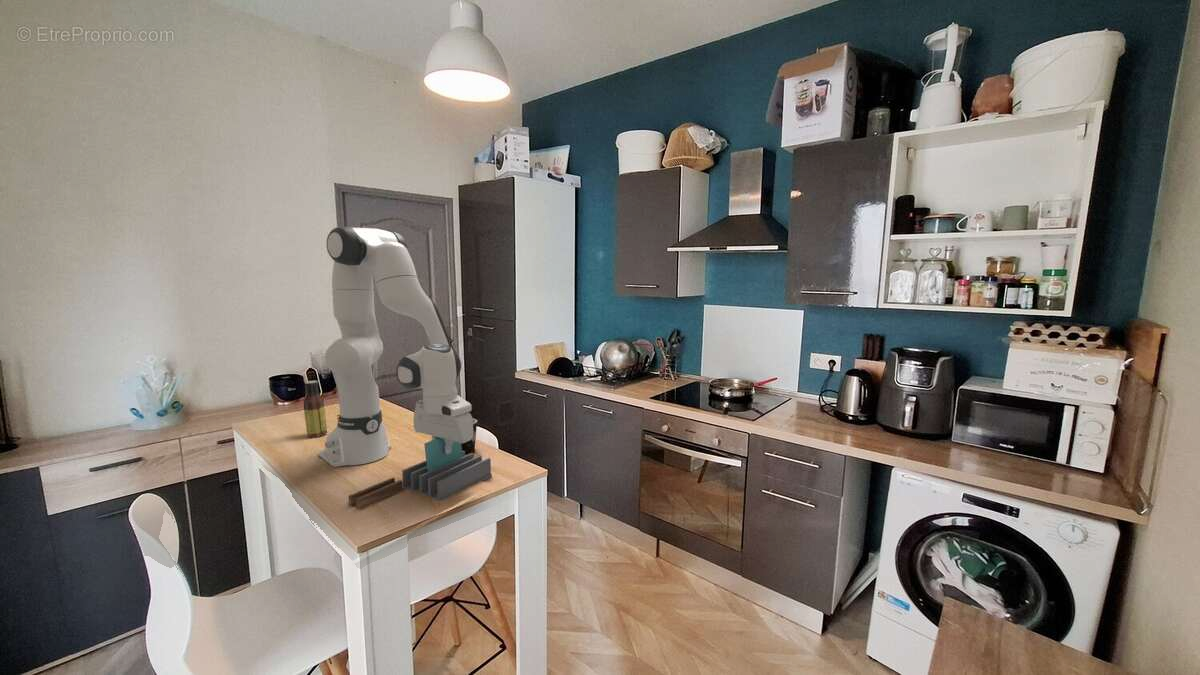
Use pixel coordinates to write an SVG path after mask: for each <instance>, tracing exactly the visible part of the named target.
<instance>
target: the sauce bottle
mask: <svg viewBox="0 0 1200 675" xmlns="http://www.w3.org/2000/svg"><path fill="white" fill-rule="evenodd" d="M318 386H319V381H318V380H308V381H305V382H304V387H305V397H304V400H303V413H304V420H305V427H306V433H307V437H309V436H310V437H309V438H313V437H314V438H318V437H317V436H320V437H323V436H325V435H327V434H328V427H327V417H326V409H325V408H326V407H325V404H324V398H323V397H322V395H321V394H320V391H319V387H318ZM326 433H327V434H326ZM322 435H323V436H322Z"/></svg>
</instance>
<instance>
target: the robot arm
mask: <svg viewBox="0 0 1200 675" xmlns="http://www.w3.org/2000/svg"><path fill="white" fill-rule="evenodd" d="M326 249H327V253H328V255H329V256H330V258H331V259H332V260H333V266H332V274H331V276H332V278H331V285H332V286H331V287H332V289H331V290H332V291H331V292H332V307H333V308H332V309H333V316H334V318H335V319H336V321H337V324H338V327H339V330H340V334H341V338H338V339H336V340H335V341H334V342H333V343H331V344H330V345H329V347H328V348H327V349H326V351H325V353H324V362H325V365H326V367H327V368H328V369H329V370H330V371H331V372H332V376H333V378H334V382H335V385H336V389H337V393H338V394H337V395H338V402H339V403H338V404H339V414H337V415H336V417H337V418H336V419H337V423H336V426H337V427H335V428H334V429H333V430H332V431H331V432H330V433H328V435H327V436H326V439H325V440H326V441H325V442H324V447H325V448H323V449H321V450H319V451H318V454H317V455H318V456H319V457H320V458H322V460H324V461H325V462H327V464H329V465H330V466H331V467H333V468H334V467H335V468H337V467H342V466H343V467H344V466H358V465H364V464H369V463H373V462H376V461H379V460H381V459H383V458H385V457H386V456H388V454H389V450H390V449H391V448H392V444H390V443H388V442H389V441H388V436H387V429H386V426H385V424H384V423H382V422H383V412H382V410H381V406H380V405H381V403H380V391H379V386H378V384H377V383H376V382H377V381H376V380H375V377H374V374H373V369H372V365H374V364H375V363H376V362H378V361H379V359H380V358H381V356H382V355H383V350H384V343H383V341H382V339H381V337H380V331H379V326H378V323H377V319H376V318H377V317H376V310H375V293H374V292H375V291H374V290H375V287H376V291H377V295H378V298H379V299H380V302H381V303H382V305H384V306H385V307H386V308H387V309H388V310H390V311H392V312H395V313H397V314H400V315H404V316H407V317H410V318H412V319H413V320H416V321H417V322H418V323H420V324H421V325H422V327H423V328H424V331H425V333H426V336H427V339H428V341H429V343H428V344H425V345H423V346H422V347H421V349H420V350H418V351H417V352H414V353H412V354H409V355H406V356H403V357H402V358H401V359H399V361H398V363H397V364H396V378H397V381H398V383H399V384H400V385H401V386H403V387H404V388H406V389H408V390H416V389H417V390H418V389H421V390H422V391H423V392H422V399H418V401H416V402H415V409H414V412H413V428H414V431H415V432H416V433H420V434H424V435H428V436H431V441H432V440H434V439H436V438H438V437H439V438H443V439H444V441H445V442H446V445H445V447H443V453H445V454H449V453H451V446H452V444H453V442H458V443H465V442H468V441H470V440H471V439H472V437H473V420H472V418H473V416H472V414H471V413H470V412H472V404H471V403H470V402H469V401H467V400H466V399H464V398H463V397H462V396H460V395H458V389H457V385H456V381H457V378H458V377H459V375H460V373H461V370H462V361H461V358H460V356H459V354H458V353H457V351H456V349H455V348H454V346H453V344H452V342H451V338H450V336H449V334H448V332H447V329H446V327H445V324H444V321H443V318H442V317H441V314H440V312H439V309H438V307H437V305H436V303H435V302H434V300H433V299H431V298H430V297H429V296H428V295H427V294H426V293H425V291H424V289H423V288H422V286H421V285H420V280H419V278H418V274H417V271H416V268H415V264H414V262H413V259H412V258H411V254H410V253H409V251H408V245H407V242H406V240H405V238H404V237H403V235H401V234H399V233H398V232H395V231H391V230H385V229H379V228H373V227H351V226H337V227H334V228H332V229H331V231H330V232H329V234H328V235H327V238H326ZM374 283H375V287H374Z"/></svg>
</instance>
